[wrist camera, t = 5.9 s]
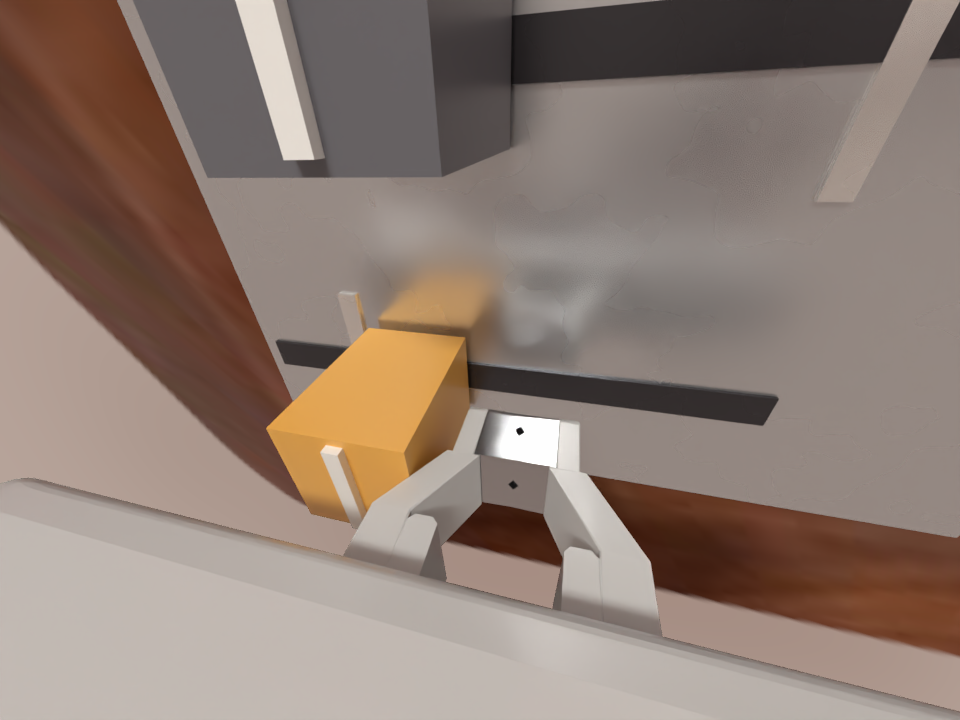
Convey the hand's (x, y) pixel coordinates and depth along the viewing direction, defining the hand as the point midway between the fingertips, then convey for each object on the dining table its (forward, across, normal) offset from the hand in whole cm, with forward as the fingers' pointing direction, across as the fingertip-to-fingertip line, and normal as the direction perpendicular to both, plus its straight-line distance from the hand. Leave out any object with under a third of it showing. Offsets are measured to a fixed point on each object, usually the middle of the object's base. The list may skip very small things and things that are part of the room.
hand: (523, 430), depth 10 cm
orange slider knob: (+2, +4, 0) cm, 4 cm away
